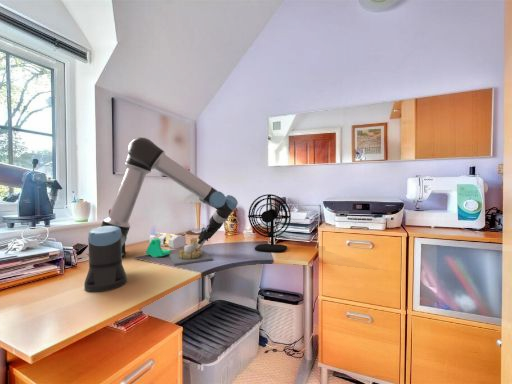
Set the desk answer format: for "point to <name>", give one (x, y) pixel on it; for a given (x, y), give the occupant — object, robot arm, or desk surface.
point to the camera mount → (156, 249)
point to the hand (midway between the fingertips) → (198, 246)
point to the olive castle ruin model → (194, 253)
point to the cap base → (180, 261)
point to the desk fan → (270, 217)
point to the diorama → (169, 239)
